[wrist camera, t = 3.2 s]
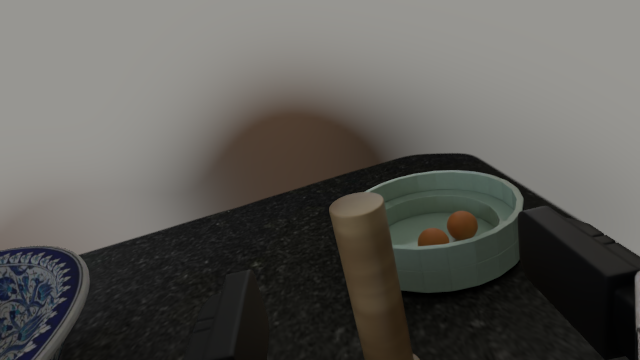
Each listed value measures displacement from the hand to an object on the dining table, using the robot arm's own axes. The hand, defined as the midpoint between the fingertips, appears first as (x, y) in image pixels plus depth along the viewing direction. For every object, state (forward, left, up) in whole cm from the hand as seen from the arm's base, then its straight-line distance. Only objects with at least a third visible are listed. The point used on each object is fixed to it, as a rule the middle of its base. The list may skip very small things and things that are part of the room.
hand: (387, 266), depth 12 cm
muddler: (+10, -6, -17) cm, 20 cm away
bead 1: (+18, -19, -15) cm, 29 cm away
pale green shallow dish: (+20, -21, -17) cm, 33 cm away
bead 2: (+18, -23, -15) cm, 32 cm away
